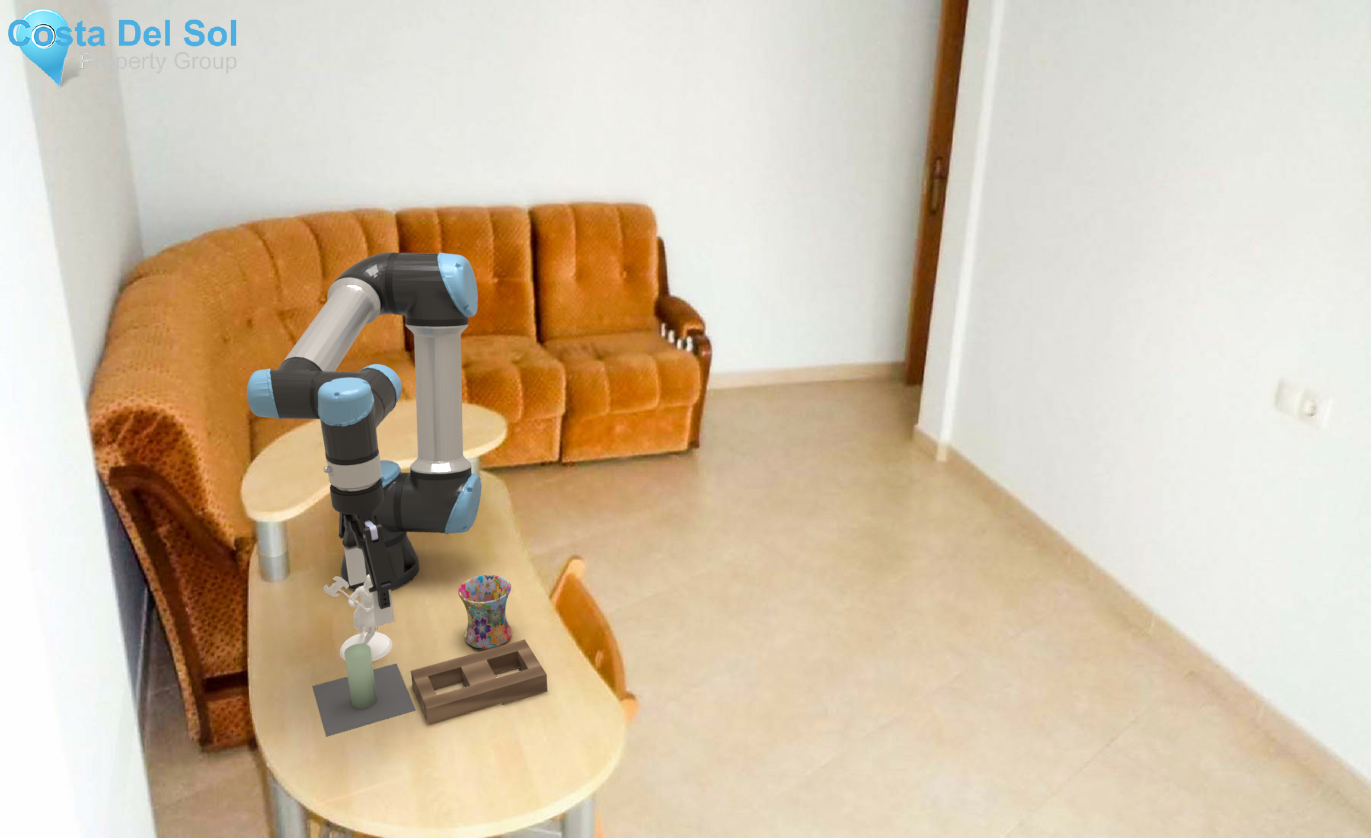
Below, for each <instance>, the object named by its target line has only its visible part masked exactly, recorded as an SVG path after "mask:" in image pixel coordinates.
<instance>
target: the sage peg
mask: <svg viewBox="0 0 1371 838" xmlns="http://www.w3.org/2000/svg"><path fill="white" fill-rule="evenodd" d="M344 654H345V660H344V661H345V667H346V674H347V677H348V682H349V689H350V696H351V703H352V706H353V707H354V708H356V709H367V708H370V707H372V706H373V705H374V704H375V703H376V702H377V695H376V687H375V680H374V672H373V669H374V666H373V661H372V657H371V649H370V646H368V645H367V644H355V645H352V646H350V647H348V648H347V649H346V650H345V652H344Z"/></svg>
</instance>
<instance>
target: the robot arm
mask: <svg viewBox="0 0 1371 838" xmlns="http://www.w3.org/2000/svg"><path fill="white" fill-rule="evenodd" d="M478 293H479V291H478V286H477V279H476V276H475V272H474V269H473V267H472V264H471V262H470V261H469V260H468V259H467V257H465V256H463V255H461V254H454V253H447V252H446V253H444V252H439V253H438V252H436V253H435V252H426V253H424V252H393V251H390V252H389V251H388V252H381V253H377V254H374V255H371V256H369V257H365V258H364V259H362V260H359V261H358V262H356V263H354V264H353V265H351V266H350V267H348V268H347V269H345V271H343V272H342V273H340V275H339V276H338V277H337V278H336V279H335V280H334V281H333V283H332V284H331V285H330V286H329V288H328V291H327V295H326V296H327V301H326V302H325V304H324V305H323V306H322V308H321V309H320V310H319V312H318V313H317V314H316V316H315V317H314V319H313V320H312V321H311V323H309V325H308V327H307V328H306V330H305V331H304V332H303V333H302V335H301V336H300V338H299V339H298V340H297V342H296V343H295V344H294V345H293V347H292V349H291V350H290V351H289V352H288V354H287V356H286V357H284V359H283V361H282V362H281V363H280V364H279V366H278V367H277V369H272V368H268V369H259V370H256V371H254V372H252V374H251V375H250V377H249V380H248V383H247V386H246V399H247V403H248V405H249V409H250V410H251V412H252V413H253V414H254V415H255V416H257V417H260V418H269V419H270V418H271V419H272V418H273V419H277V420H282V419H283V420H286V419H291V420H292V419H293V420H294V419H296V420H297V419H298V420H301V419H302V420H319V421H320V427H321V433H322V439H323V446H324V454H325V455H324V456H325V460H326V461H325V462H326V464H327V465H326V466H324V467H323V472H324V473H325V474H327V475H328V482H329V483H330V485H329V492H330V499H331V500H330V501H331V507H332V508H333V510H335V511H336V512H338V513H339V514H338V515H339V517H338V520H339V521H338V538H340V540H342V546H343V547H344V549H343V550H344V552H343V556H342V562H341V565H340V575H341V576H340V577H341V578H343V579H344V580H345V581H346V582H347V583H348V584H349V587H348V588H347V589H350V590H352V591H355V590H356V589H357V588H359V587H360V586H363V585H364V583H365V581H367V575H368V574H369V575H370V579H371V582H372V585H373V587H371V588H369V592H370V593H372V601H373V609H374V617H375V624H376V627H377V626H378V627H379V626H380V627H381V626H384V625H386V624H391V623H393V622H395V616H394V606H393V597H392V596H393V595H392V590H395V589H398V588H401V587H404V586H405V585H407V584H409V583H410V582H412V581H413V580H415V578H416V577H417V576H418V574H419V572H420V561H419V556H418V554H417V552H416V549H415V548H414V546H413V544H412V542H411V540H410V538H409V536H408V533H427V534H428V533H431V534H435V533H436V534H445V535H449V534H463V533H466V532H468V531H470V530H471V528H472V527H473V525H474V523H475V521H476V518H477V516H478V511H479V507H480V503H481V496H482V479H481V475H478V474H476V473H472V463H471V462H470V461H469V460H468V459H467V458H466V457H465V456H464V437H463V435H464V433H463V388H462V386H463V385H462V383H463V382H462V347H461V346H462V339H461V335H462V333H463V332H464V331H465V330H466V329H467V328H468V327H469V319H470V318H472V317H474V316H475V315H476V314H477V312H478V307H479V306H478V302H479V294H478ZM383 315H384V316H386V315H396V316H404V317H405V327H406V328H407V329H408V330H410V331H411V333H412V334H413V336H414V337H413V343H414V369H415V370H414V371H415V397H416V398H415V399H416V401H415V402H416V403H415V405H416V434H417V435H416V436H417V437H416V438H417V439H416V440H417V441H416V442H417V457H416V459H415V460H414V461H413V462H412V463H411V464H410V466H409V472H403V471H402V469H401V467H400V465H399V464H398V463H397V462H395V461H393V460H385V459H383V460H381V458H380V457H381V455H380V450H379V443H378V434H377V428H378V427H379V426H380V425H381V423H382V422H383V421H384V419H385V418H386V417H388V415H389V414H390V413H391V412H392V411H394V409H395V407H396V406H397V403H398V401H399V400H400V399H401V396H402V392H403V385H402V381H401V378H400V377H399V375H398V374H397V372H396V371H394V369H392V367H391V368H390V367H388V366H386V365H385V364H379V363H375V364H374V363H373V364H370V365H367V366H365V367H363V368H362V369H359V370H358V371H336V370H337V369H338V367H339V366H340V364H341V363H342V361H343V360H344V358H345V356H346V355H347V354H348V352H349V350H350V349H351V347H352V346H353V344H354V343H355V341H356V339H357V338H358V336H359V335H360V333H361V332H362V330H363V329H364V328H365V326H366V325H369V324H371V323H372V322H374V321H375V320H376V319H377V317H378V316H383ZM366 585H367V584H366Z"/></svg>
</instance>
